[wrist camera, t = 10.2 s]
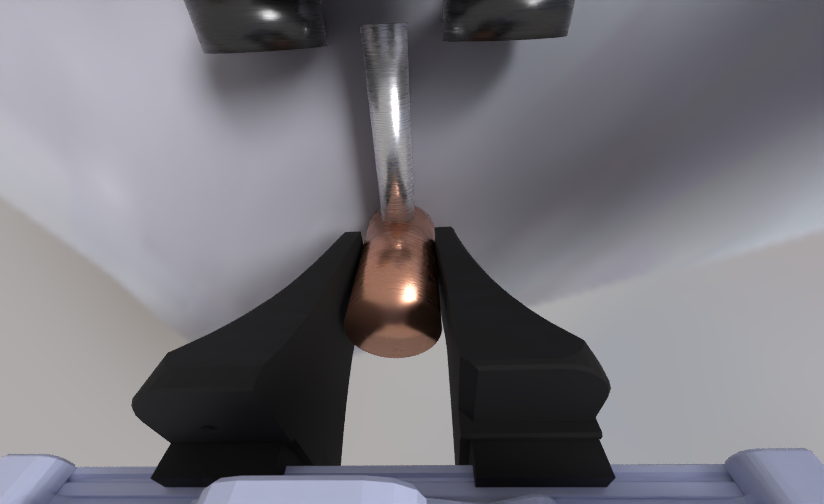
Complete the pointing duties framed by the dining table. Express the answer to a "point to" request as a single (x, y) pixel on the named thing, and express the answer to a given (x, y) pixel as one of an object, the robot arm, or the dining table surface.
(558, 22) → the dolly
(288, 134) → the dining table surface
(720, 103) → the dining table surface
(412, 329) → the pin
